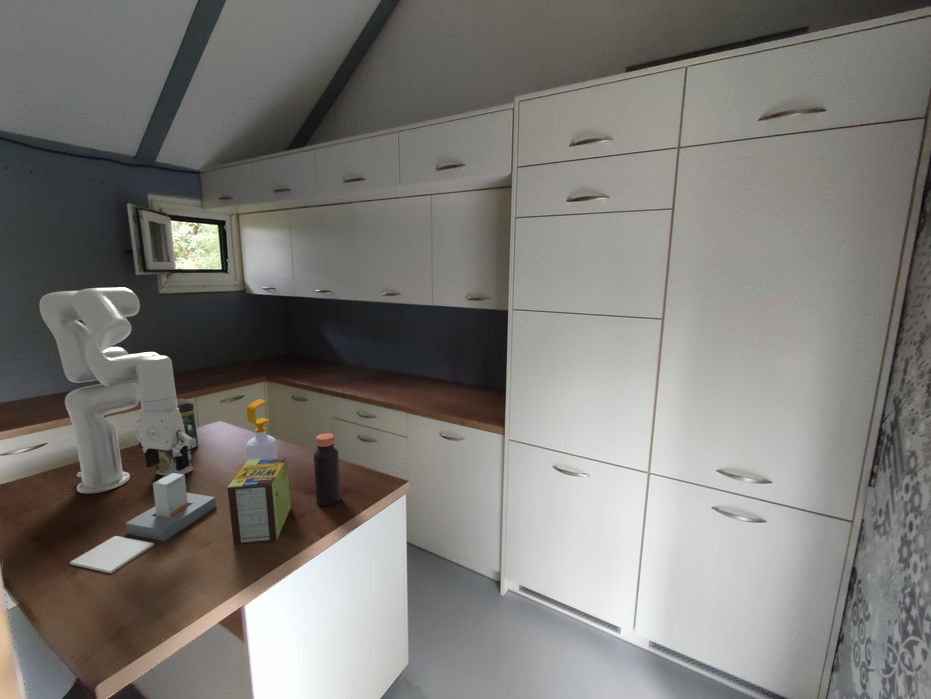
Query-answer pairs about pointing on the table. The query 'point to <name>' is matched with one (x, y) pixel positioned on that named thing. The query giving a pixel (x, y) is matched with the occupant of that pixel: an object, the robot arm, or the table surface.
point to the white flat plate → (112, 554)
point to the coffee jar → (188, 418)
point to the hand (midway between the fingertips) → (168, 466)
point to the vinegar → (326, 471)
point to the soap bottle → (260, 436)
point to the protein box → (259, 500)
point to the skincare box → (170, 495)
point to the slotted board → (170, 519)
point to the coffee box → (171, 461)
